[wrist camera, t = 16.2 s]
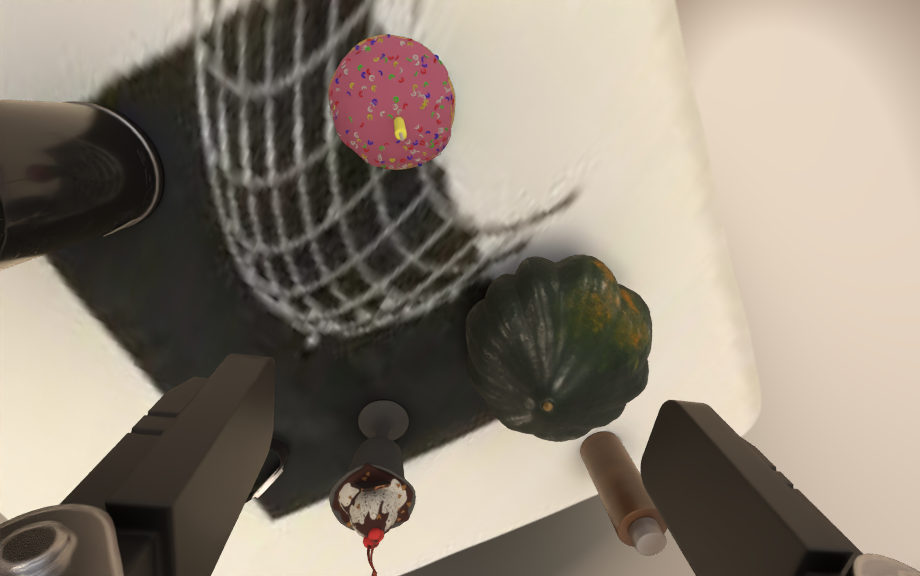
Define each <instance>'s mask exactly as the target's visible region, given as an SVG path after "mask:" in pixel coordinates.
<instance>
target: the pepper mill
mask: <svg viewBox="0 0 920 576" xmlns="http://www.w3.org/2000/svg"><path fill="white" fill-rule="evenodd" d="M581 456H582V459H583V461H584V463H585V465H586V467H587V470H588V472H589V474H590V476H591V478H592V480H593V483H594V485H595V487H596V489H597V491H598V493H599V496H600V498H601V500H602V502H603V504H604V506H605V508H606V511H607V513H608V515H609V517H610V519H611V522H612V524H613V526H614V528H615V530H616V532H617V535H618V537H619V539H620V540H621V541H622V542H624V543H625V544H627V545H629V546H633V547H635V548H636V550H637V551H638V552H639V553H640V554H642V555H645V556H651V555H655V554H657V553H659V552H660V551H662V550H663V549H664V548H665V546H666V543H667V541H666V537H665V535H664V533H665V531H666V529H667V526H666V524H665V522H664V521H663V519H662V517H661V516H660V514H659V512H658V511H657V509H656V507H655V505H654V504H653V502H652V500H651V499H650V497H649V495H648V494H647V492H646V490H645V488H644V486H643V482H642V478H641V474H640V473H639V471H638V469H637V468H636V466H635V464H634V463H633V461H632V459H631V458H630V456H629V454H628V453H627V451H626V449H625V448H624V446H623V444H622V443H621V441H620V439H619V438H618V437H617V436H616V435H614V434H612V433H610V432H598V433H595V434H593V435H591V436H589V437H588V438H587V439H586V440H585V441H584V442H583V444H582V446H581Z"/></svg>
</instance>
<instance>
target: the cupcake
mask: <svg viewBox="0 0 920 576" xmlns="http://www.w3.org/2000/svg"><path fill="white" fill-rule="evenodd" d="M328 96H329V105H330V108H331V111H330V115H331V116H332V117H333V120H334V123H335V127H336V130H337V134H338V135H339V137H340V139H341V140H342V141H343V142H344V143H345V144H346V145H347V146H348V147H350V148H351V149H352V150H354V151H355V152H356V153H357V154H358V155H359V156H360V157H361V158H362V159H364V160H365V161H366V163H369V164H371V165H374V166H377V167H381V168H385V169H394V170H399V169H407V168H412V167H416V166H421V165H422V164H424V163H426V162H427V161H429V160H431V159H433V158H435V157H436V156H438V155H440V154H441V152H442V150H443V149H444V148H445V146H446V145H447V143H448V141H449V139H450V136H451V127H452V124H453V120H454V111H455V93H454V89H453V86H452V83H451V81H450V79H449V77H448V72H447V70H446V68H445V66H444V65H443V64H442V62H441V61H440V60H439V57H438V56H437V55H434V54H433V53H432V52H431V51H430V50H429V49H428V48H426V47H425V46H423V45H422V44H420V43H418V42H416V41H414V40H412V39H409V38H405V37H400V36H395V35H390V34H388V35H378V36H374V37H371V38H368V39H366V40H363V41H362V42H360V43H358V44H357V45H356V46H355V47H354V48H353V49H352V50H351V51H350V52H349V53H348V54H347V55H346V56H345V57H344V59H343V60H342V61H341V63H340V65H339V66H338V68H337V70H336V71H335V73H334V75H333V77H332V79H331V82H330V85H329V91H328Z"/></svg>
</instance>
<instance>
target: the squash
mask: <svg viewBox="0 0 920 576" xmlns="http://www.w3.org/2000/svg"><path fill="white" fill-rule="evenodd" d="M466 338H467V346H468V351H469V353H468V358H467V371H468V375H469V378H470V381H471V383H472V385H473V387H474V388H475V390H476V391H477V392H478V393H479V394H480V395H482V396H483V397H484V398H485V400H486V402H487V405H488V407H489V409H490V411H491V412H492V413H493V415H494V416H495V417H496V418H497V419H498V420H500V422H501V423H502V424H503V425H505V426H506V427H507V428H509V429H511V430H514V431H518V432H522V433H526V434H533V435H535V436H536V437H538V438H541V439H544V440H549V441H555V442H562V441H567V440H574V439H577V438H580V437H581V436H583V435H585V434H587V433H588V432H589V431H590V430H591V429H593V428H597V427H602V426H606V425H607V424H609V423H610V422H612V421H613V420H615V419H617V418H618V417H619V416H620V415H621V414H622V412H623V410H624V408H625V406H626V403H628V402H630V401H631V400H633V399H634V398H635V397H637V396H638V395H639V394H640V393H641V392H642V391H643V390H644V389H645V387H646V385H647V381H648V373H649V369H648V360H647V358H648V356H649V353H650V350H651V343H652V321H651V316H650V311H649V308H648V306H647V305H646V303H645V302H644V301H643V299H642V298H641V297H640V295H638V294H637V293H636V292H634V291H632V290H630V289H628V288H626V287H625V286H623V285H621V284H618V283H617V281H616V279H615V277H614V275H613V274H612V272H611V271H610V270H609V268H608V267H607V266H606V265H605V264H604V263H603V262H601V261H600V260H598V259H597V258H595V257H592V256H587V255H574V256H570V257H568V258H565V259H563V260H561V261H560V262H558V263H554V262H552V261H550V260H547V259H545V258H542V257H531V258H527V259H525V260H524V261H522V263H521V264H520V265H519V267H518V269H517V271H516V274H515V275H512V274H504V275H501V276H500V277H498V278H497V279H496V280H494V281H493V282H492V283H491V284H490V286H489V288H488V290H487V292H486V295H485V299H483V300H481V301H479V302H477V303H476V304H475V305H474V306H473V307H472V309H471V310H470V311H469V314H468V316H467V319H466Z"/></svg>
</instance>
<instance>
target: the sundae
mask: <svg viewBox="0 0 920 576" xmlns="http://www.w3.org/2000/svg"><path fill="white" fill-rule="evenodd" d="M358 423H359V428H360V429H361V431H362V432H363V434H364V435H365V436H367V437H368V438H369V439H367V440H365V441H364V442H363V443H362V444H361V445H360V446H359V448H358V450H357V452H356V453H355V455H354V457H353V460H352V462H351V465H350V467H349V470H348V472H347V474H346V475H344V476H343V477H342V478H341V479H340V480H339V481H338V482H337V483H336V484H335V485H334V486H333V488H332V490H331V492H330V495H329V500H330V505H331V508H332V511H333V513H334V515H335V517H336V518H337V519H338V520H339V522H340V523H341V524H343V525H344V526H346V527H347V528H350V529H352V530H356V532H357V533H358V534H359V535H361V536H362V537H364V539H363V544H364V546H365V547H366V548H367V556H368V561H369V564H370V566H371V568H372V569H373V573H372V576H377V572H376V571H375V569H374V566H373V563H372V554H373V550H374V548H375V547H377V546H378V544H379V542H380V541H381V540H382V539H383V537H384V534H385V533H387V532H388V531H389V530H390V529H392V528H395V527H397V526H400V525H401V524H402V523H404V522H406V521H408V519H409V517H410V515H411V513H412V511H413V508H414V505H415V499H416V496H415V490H414V488H413V487H412V485H411V484H410V483H409V482H408V481H407V480H406V479H405V478H404V469H403V460H402V455H401V450H400V448H399V446H398V445H397V444H396V443H395V442H394V441H393V440H396V439H398V438H399V437H401V436H402V435H403V434H404V433H405V432H406V430H407V428H408V424H409V419H408V415H407V413H406V411H405V410H404V409H403V408H402V407H401V406H400V405H398V404H397V403H395V402H391V401H387V400H381V401H375V402H372V403H370V404H368V405H367V406H366V407H365V408H364V409H363V410H362V411H361V413H360V415H359V419H358ZM370 549H371V555H370ZM370 561H371V562H370Z"/></svg>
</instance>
